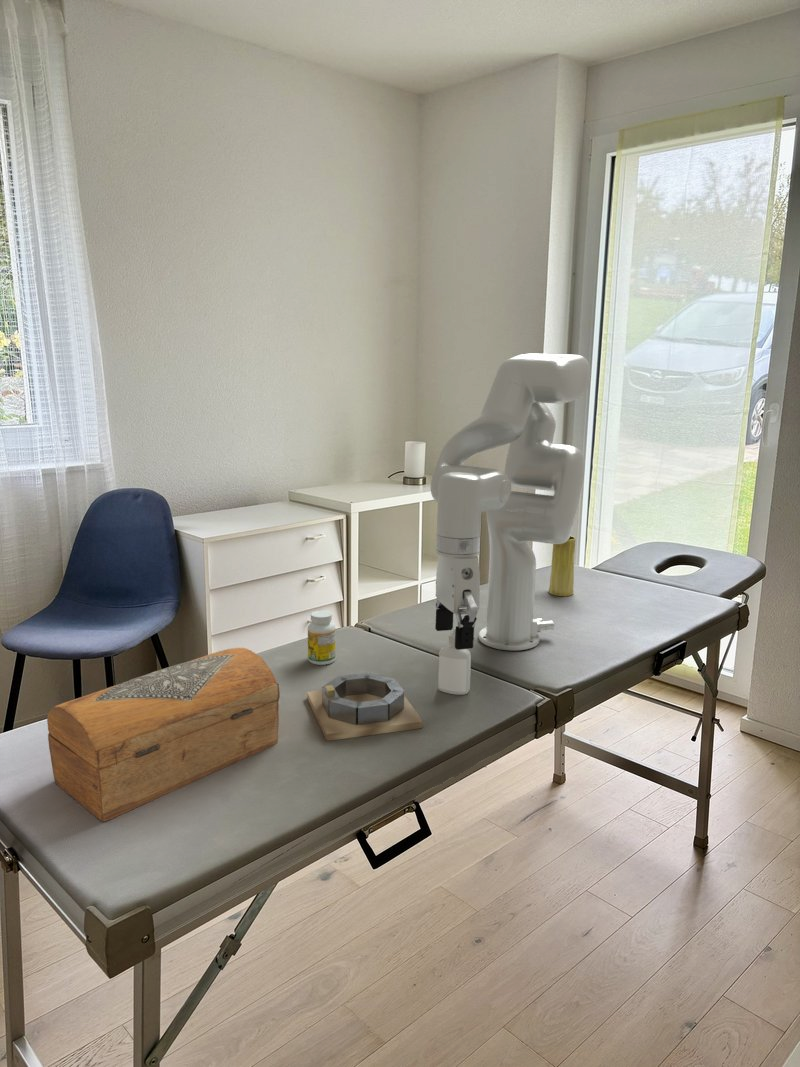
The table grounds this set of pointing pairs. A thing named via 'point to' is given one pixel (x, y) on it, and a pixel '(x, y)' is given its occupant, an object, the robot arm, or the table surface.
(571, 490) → the robot arm
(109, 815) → the wooden box
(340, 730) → the square wooden board
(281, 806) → the table surface
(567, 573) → the vase
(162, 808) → the table surface
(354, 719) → the gray octagonal ring
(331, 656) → the supplement bottle
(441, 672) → the eye dropper bottle
